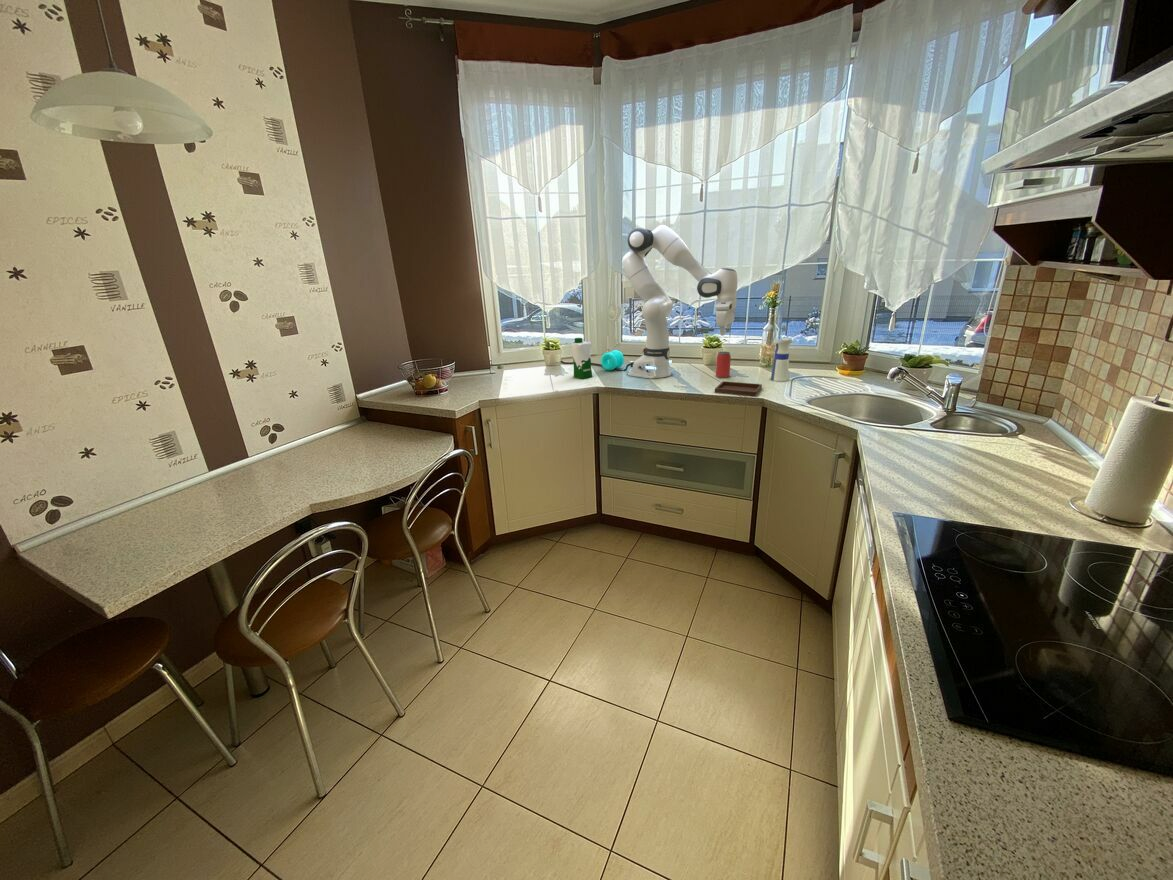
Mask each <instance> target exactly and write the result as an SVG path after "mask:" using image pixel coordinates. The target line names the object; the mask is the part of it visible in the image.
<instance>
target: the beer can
mask: <svg viewBox="0 0 1173 880" xmlns="http://www.w3.org/2000/svg"><path fill="white" fill-rule="evenodd" d="M731 356H732V355H731V352H730V351H718V353H717V356H716V369H715V376H716V377H717V378H722V379H727V378H729V377H730V374H731V359H732V357H731Z"/></svg>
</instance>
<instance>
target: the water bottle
mask: <svg viewBox="0 0 1173 880" xmlns="http://www.w3.org/2000/svg"><path fill="white" fill-rule="evenodd" d="M787 329H788V327H787V326H786V325H783V327H780V330H781V333H783V332H785V333H787ZM791 344H793V339H792V338H791V337H783V338H782V339H778V338H776V337H775V338H774V340H773V342H772V345H775V349H774V351H773V352H774V356H773V357H774V358H773V359H772V360H773V361H772V368H771V375H770V380H771V381H773V382H787V381H789V369H790V359H789V358H790V353H791V350H790V345H791Z"/></svg>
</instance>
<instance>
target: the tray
mask: <svg viewBox="0 0 1173 880" xmlns="http://www.w3.org/2000/svg"><path fill="white" fill-rule="evenodd" d="M762 389H763V384H762V383H751V382H750V383H749V382H738V381H737V382H736V381H727V380H722V381H721V382H720V383H719V384H718V385H716V386H715V387H714V394H722V395H723V394H724V395H735V396H743V397H744V396H745V397H754V398H755V397H757V395H758V394H759V393H760V392H761V391H762Z"/></svg>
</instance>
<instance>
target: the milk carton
mask: <svg viewBox="0 0 1173 880" xmlns="http://www.w3.org/2000/svg"><path fill="white" fill-rule="evenodd" d="M592 344H593V343H592V342H590V341H585V340H583V337H575V338H574V342H571V343H570V346H571V350H572V360H573V361H572V362H573V363H574V364H573V378H575V379H580V380H584V379H589V378H592V377H593V371H592V365H591V363H592V356H591V355H592V354H591V353H592V352H591V349H592Z"/></svg>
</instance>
